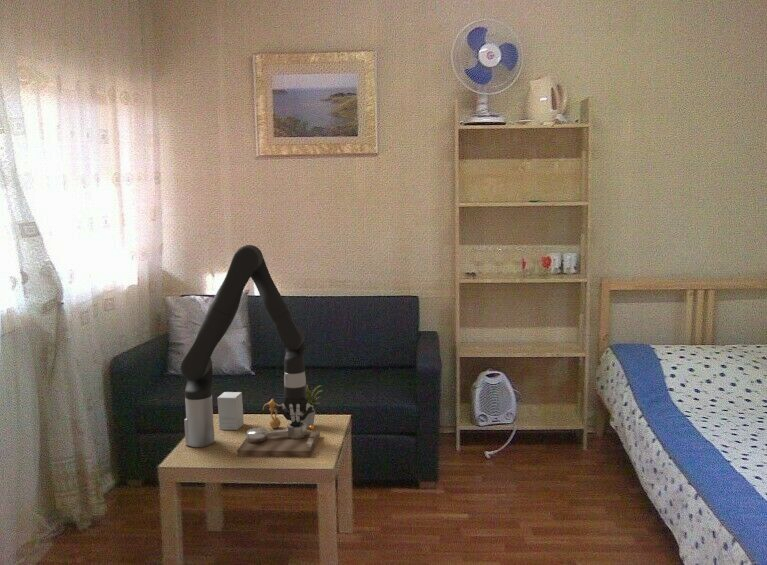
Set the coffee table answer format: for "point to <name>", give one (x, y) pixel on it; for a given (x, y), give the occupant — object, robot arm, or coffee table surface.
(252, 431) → the baby rattle
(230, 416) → the supplement box
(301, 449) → the stand base
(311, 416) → the house plant
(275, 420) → the figurine
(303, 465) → the coffee table surface
